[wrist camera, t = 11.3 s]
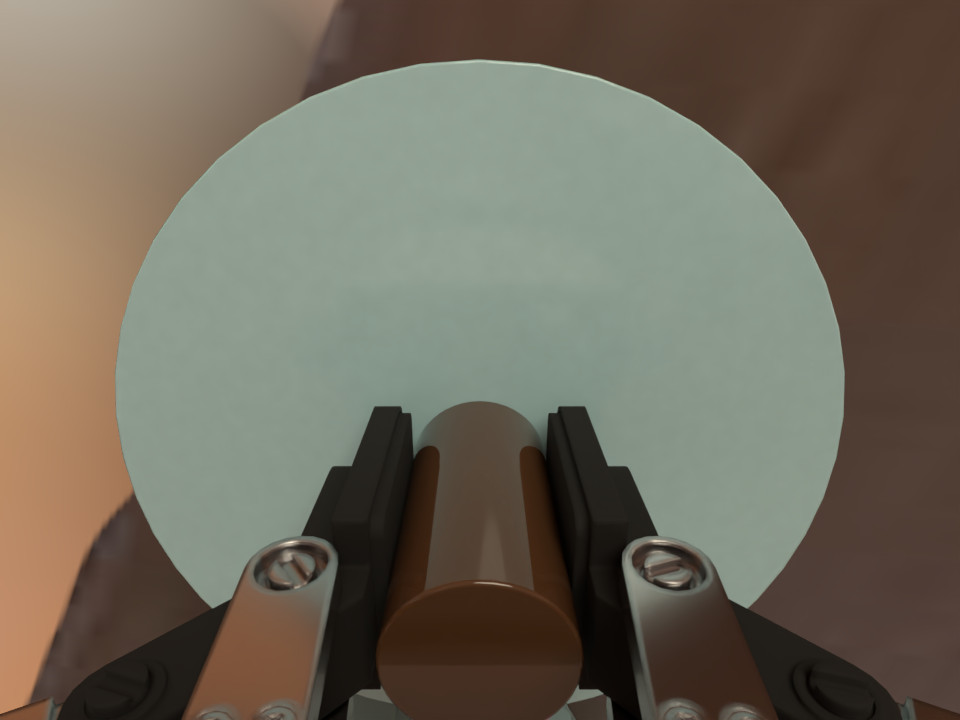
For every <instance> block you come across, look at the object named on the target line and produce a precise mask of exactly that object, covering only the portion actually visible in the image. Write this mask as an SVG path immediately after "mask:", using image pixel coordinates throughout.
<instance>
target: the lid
mask: <svg viewBox="0 0 960 720" xmlns="http://www.w3.org/2000/svg"><path fill="white" fill-rule="evenodd" d="M844 375H845V372H844V364H843V356H842V348H841V341H840V333H839V327H838V323H837V320H836V316H835V313H834V309H833V306H832V302H831V299H830V295H829V292H828V288H827V285H826V282H825V280H824V278H823V275H822V273H821V271H820V269H819V267H818V265H817V263H816V260H815V258H814V256H813V254H812V252H811V250H810V248H809V245H808V243H807V241H806V239H805V237H804V236H803V234H802V233H801V231H800V230H799V229H798V227H797V226H796V224H795V223H794V221H793V220H792V218H791V217H790V215H789V214H788V212H787V211H786V209H785V208H784V206H783V205H782V203H781V202H780V200H779V199H778V197H777V196H776V195H775V194H774V193H773V192H772V191H771V190H770V189H769V188H768V186H767V185H766V184H765V183H764V182H763V181H762V180H761V179H760V178H759V177H758V176H757V175H756V174H755V173H754V171H753V170H752V169H751V168H750V167H749V166H748V165H747V164H746V163H745V162H744V161H743V160H742V159H741V158H740V157H739V156H738V155H736V154H735V153H734V152H733V151H731V150H730V149H729V148H728V147H726V146H725V145H724V144H722V143H721V142H720V141H719V140H717V139H716V138H715V137H714V136H712V135H711V134H710V133H709V132H707V131H706V130H705V129H703V128H702V127H701V126H700V125H698V124H696V123H695V122H693V121H691V120H689V119H688V118H686V117H684V116H682V115H681V114H679V113H677V112H675V111H674V110H672V109H670V108H668V107H666V106H665V105H663V104H661V103H659V102H658V101H656V100H654V99H652V98H651V97H648V96H646V95H643V94H640V93H638V92H635V91H633V90H630V89H627V88H625V87H622V86H620V85H617V84H614V83H612V82H609V81H607V80H604V79H601V78H599V77H596V76H592V75H587V74H583V73H578V72H574V71H569V70H565V69H560V68H556V67H551V66H547V65H542V64H536V63H522V62H509V61H495V60H481V59H478V60H464V61H451V62H437V63H423V64H417V65H412V66H408V67H403V68H399V69H394V70H390V71H385V72H381V73H377V74H372V75H368V76H363V77H361V78H358V79H355V80H353V81H350V82H348V83H345V84H342V85H340V86H337V87H334V88H332V89H329V90H327V91H324V92H321V93H319V94H316V95H314V96H311V97H309V98H307V99H305V100H303V101H302V102H300V103H298V104H296V105H295V106H293V107H291V108H289V109H288V110H286V111H284V112H282V113H281V114H279V115H277V116H275V117H274V118H272V119H270V120H268V121H266V122H265V123H263V124H261V125H260V126H258V127H257V128H256V129H255V130H253V131H252V132H251V133H250V134H248V135H247V136H246V137H245V138H243V139H242V140H241V141H239V142H238V143H237V144H236V145H234V146H233V147H232V148H231V149H229V150H228V151H227V152H226V153H224V154H223V155H222V156H220V157H219V158H218V159H217V160H216V161H215V162H214V163H213V164H212V165H211V167H210V168H209V169H208V170H207V171H206V172H205V173H204V174H203V175H202V176H201V177H200V178H199V179H198V180H197V182H196V183H195V184H194V185H193V186H192V187H191V188H190V189H189V190H188V191H187V192H186V193H185V194H184V196H183V197H182V198H181V200H180V201H179V203H178V204H177V206H176V207H175V208H174V210H173V211H172V213H171V214H170V216H169V217H168V219H167V220H166V222H165V223H164V225H163V226H162V228H161V229H160V231H159V232H158V234H157V235H156V237H155V238H154V240H153V242H152V244H151V247H150V249H149V251H148V253H147V255H146V257H145V259H144V262H143V264H142V266H141V268H140V270H139V272H138V274H137V277H136V279H135V281H134V283H133V287H132V290H131V294H130V297H129V301H128V304H127V308H126V311H125V314H124V318H123V322H122V325H121V329H120V338H119V345H118V353H117V361H116V368H115V393H116V418H117V424H118V430H119V436H120V441H121V447H122V453H123V458H124V461H125V464H126V468H127V471H128V474H129V477H130V480H131V483H132V486H133V489H134V492H135V495H136V498H137V500H138V502H139V504H140V506H141V509H142V511H143V513H144V515H145V517H146V519H147V521H148V523H149V525H150V527H151V529H152V531H153V534H154V535H155V537H156V538H157V540H158V541H159V543H160V544H161V546H162V548H163V549H164V551H165V552H166V554H167V555H168V557H169V558H170V560H171V561H172V563H173V564H174V566H175V568H176V569H177V570H178V571H179V572H180V574H181V575H182V576H183V577H184V578H185V579H186V581H187V582H188V583H189V584H190V585H191V587H192V588H193V589H194V590H195V591H196V593H197V594H198V595H199V596H200V597H201V598H202V599H203V600H204V601H205V602H206V603H207V604H208V605H209V606H210V607H211V608H212V609H213V608H215V607H217V606H218V605H220V604H222V603H224V602H226V601H228V600H230V599H232V596H233V594H234V591H235V589H236V587H237V584H238V582H239V579H240V577H241V575H242V572H243V570H244V567H245V566H246V564H247V563H248V561H249V560H250V558H251V557H252V556H253V555H255V554H256V553H257V552H258V551H259V550H260V549H262V548H264V547H266V546H267V545H269V544H271V543H273V542H276V541H279V540H282V539H285V538H289V537H296V536H301V535H302V532H303V530H304V528H305V525H306V523H307V521H308V519H309V516H310V514H311V512H312V510H313V507H314V505H315V503H316V501H317V498H318V496H319V494H320V491H321V489H322V487H323V485H324V482H325V480H326V478H327V476H328V473H329V471H330V469H331V468H332V467H333V466H352V464H353V461H354V458H355V456H356V453H357V451H358V448H359V445H360V443H361V440H362V437H363V435H364V432H365V430H366V427H367V424H368V422H369V419H370V417H371V414H372V411H373V409H374V407H375V406H401V408H402V413H411V416H412V434H413V455H414V461H413V466H412V471H411V476H410V481H409V486H408V491H407V496H406V501H405V506H404V511H403V516H402V520H401V525H400V530H399V535H398V540H397V545H396V550H395V555H394V560H393V565H392V570H391V575H390V580H389V585H388V590H387V595H386V600H385V605H384V609H383V614H382V619H381V624H380V629H379V634H378V639H377V644H376V650H375V665H376V671H377V675H378V678H379V681H380V684H381V690H360V691H359V692H358V693H356V694H357V695H360V696H363V697H366V698H370V699H374V700H378V701H383V702H387V703H391V704H394V705H395V706H396V707H397V708H398V709H399V710H400V711H401V712H402V713H404V714H405V715H406V716H408V717H409V718H410V719H412V720H547V719H549V718H550V717H551V716H553V715H554V714H555V713H557V712H558V711H559V710H560V709H561V708H562V707H563V706H564V705H565V704H569V703H573V702H577V701H581V700H585V699H590V698H594V697H597V696H599V695H602V694H603V693H602V692H601V691H599V690H579V686H578V683H579V681H580V678H581V675H582V670H583V665H584V651H583V645H582V640H581V635H580V630H579V625H578V620H577V615H576V610H575V605H574V600H573V595H572V590H571V585H570V580H569V575H568V570H567V564H566V559H565V554H564V549H563V544H562V539H561V534H560V529H559V524H558V519H557V514H556V509H555V504H554V499H553V494H552V489H551V484H550V479H549V474H548V469H547V464H546V448H547V426H548V414H549V413H557V411H558V407H559V406H585V407H586V410H587V412H588V415H589V417H590V420H591V423H592V425H593V428H594V431H595V433H596V436H597V438H598V441H599V444H600V446H601V449H602V451H603V454H604V457H605V459H606V462H607V465H608V466H626V467H628V468H629V470H630V472H631V474H632V476H633V479H634V481H635V483H636V485H637V488H638V490H639V492H640V495H641V497H642V499H643V501H644V504H645V506H646V508H647V510H648V513H649V515H650V517H651V519H652V522H653V524H654V526H655V529H656V531H657V533H658V535H659V536H664V537H671V538H675V539H678V540H681V541H684V542H687V543H689V544H691V545H693V546H694V547H696V548H698V549H700V550H701V551H702V552H703V553H704V554H705V555H707V556H708V557H709V558H710V560H711V561H712V563H713V564H714V566H715V567H716V570H717V572H718V575H719V577H720V579H721V582H722V584H723V587H724V589H725V591H726V594H727V596H728V599H730V600H732V601H734V602H736V603H737V604H739V605H741V606H743V607H745V608H747V609H748V608H749V607H750V606H751V605H752V604H753V603H754V602H755V601H756V600H757V599H758V598H759V597H760V596H761V595H762V593H763V592H764V591H765V590H766V589H767V587H768V586H769V585H770V584H771V583H772V582H773V580H774V579H775V578H776V577H777V576H778V574H779V573H780V572H781V571H782V570H783V568H784V567H785V565H786V564H787V562H788V561H789V559H790V558H791V556H792V555H793V553H794V552H795V550H796V549H797V547H798V545H799V544H800V542H801V541H802V539H803V538H804V536H805V535H806V533H807V531H808V529H809V527H810V524H811V522H812V520H813V518H814V516H815V514H816V512H817V510H818V508H819V506H820V504H821V502H822V499H823V497H824V494H825V491H826V488H827V485H828V482H829V479H830V476H831V473H832V470H833V466H834V463H835V460H836V457H837V451H838V445H839V439H840V433H841V428H842V422H843V416H844Z"/></svg>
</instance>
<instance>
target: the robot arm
mask: <svg viewBox="0 0 960 720" xmlns="http://www.w3.org/2000/svg"><path fill="white" fill-rule="evenodd" d="M413 461H414V455H413V434H412V416H411V413H402V408H401V406H375V407H374V409H373V411H372V414H371V417H370V419H369V422H368V424H367V427H366V430H365V432H364V435H363V437H362V440H361V443H360V445H359V448H358V451H357V453H356V456H355V458H354V461H353V464H352V466H333V467H332V468H331V469H330V471H329V473H328V476H327V478H326V480H325V482H324V485H323V487H322V489H321V491H320V494H319V496H318V498H317V501H316V503H315V505H314V507H313V510H312V512H311V514H310V516H309V519H308V521H307V523H306V525H305V528H304V530H303V532H302V535H301V536H296V537H289V538H285V539H282V540H279V541H276V542H273V543H271V544H269V545H267V546H266V547H264V548H262V549H260V550H259V551H258V552H257V553H256V554H255V555H253V556H252V557H251V558H250V560H249V561H248V563H247V564H246V566H245V567H244V570H243V572H242V575H241V577H240V579H239V582H238V584H237V587H236V589H235V591H234V594H233V596H232V599H230V600H228V601H226V602H224V603H222V604H220V605H218V606H217V607H215V608H213V609H211V610H209V611H207V612H205V613H203V614H201V615H200V616H198V617H196V618H194V619H192V620H190V621H188V622H186V623H184V624H183V625H181V626H179V627H177V628H175V629H173V630H171V631H169V632H167V633H166V634H164V635H162V636H160V637H158V638H156V639H154V640H152V641H150V642H149V643H147V644H145V645H143V646H141V647H139V648H137V649H135V650H133V651H132V652H130V653H128V654H126V655H124V656H122V657H120V658H118V659H116V660H115V661H113V662H111V663H109V664H107V665H105V666H104V667H102V668H101V669H99V670H97V671H96V672H94V673H93V674H91V675H90V676H88V677H87V678H86V679H85V680H84V681H83V682H81V683H80V684H79V685H78V686H77V687H76V688H75V689H74V690H73V691H72V692H71V694H70V695H69V696H68V698H67V699H66V701H65V702H63V703H60V704H57V705H55V702H54V699H53V697H49V698H46V699H43V700H40V701H37V702H34V703H31V704H29V705H26V706H23V707H20V708H17V709H14V710H11V711H8V712H5V713H2V714H0V720H352V719H353V711H354V706H353V696H354V695H355V694H356V693H358V692H359V691H360V690H381V684H380V681H379V678H378V675H377V671H376V665H375V650H376V644H377V639H378V634H379V629H380V624H381V619H382V614H383V609H384V605H385V600H386V595H387V590H388V585H389V580H390V575H391V570H392V565H393V560H394V555H395V550H396V545H397V540H398V535H399V530H400V525H401V520H402V516H403V511H404V506H405V501H406V496H407V491H408V486H409V481H410V476H411V471H412V466H413ZM546 464H547V469H548V474H549V479H550V484H551V489H552V494H553V499H554V504H555V509H556V514H557V519H558V524H559V529H560V534H561V539H562V544H563V549H564V554H565V559H566V564H567V570H568V575H569V580H570V585H571V590H572V595H573V600H574V605H575V610H576V615H577V620H578V625H579V630H580V635H581V640H582V645H583V651H584V665H583V670H582V675H581V678H580V681H579V683H578V686H579V690H599V691H601V692H602V693H603V694H605V695H606V696H607V706H606V711H607V719H608V720H960V714H958V713H955V712H952V711H949V710H946V709H943V708H940V707H937V706H934V705H931V704H928V703H925V702H923V701H920V700H917V699H914V698H911V697H908V696H907V698H906V701H905V704H904V705H902V704H900V703H897V702H895V701H894V700H893V698H892V697H891V695H890V694H889V693H888V691H887V690H886V689H885V688H884V687H883V686H882V685H880V684H879V683H878V682H877V681H876V680H875V679H874V678H873V677H872V676H870V675H869V674H867V673H865V672H864V671H862V670H861V669H859V668H858V667H856V666H855V665H853V664H851V663H849V662H847V661H845V660H843V659H841V658H839V657H838V656H836V655H834V654H832V653H830V652H828V651H826V650H824V649H822V648H821V647H819V646H817V645H815V644H813V643H811V642H809V641H807V640H805V639H804V638H802V637H800V636H798V635H796V634H794V633H792V632H790V631H788V630H787V629H785V628H783V627H781V626H779V625H777V624H775V623H773V622H771V621H770V620H768V619H766V618H764V617H762V616H760V615H758V614H756V613H754V612H753V611H751V610H749V609H747V608H745V607H743V606H741V605H739V604H737V603H736V602H734V601H732V600H730V599H728V596H727V594H726V591H725V589H724V587H723V584H722V582H721V579H720V577H719V575H718V572H717V570H716V567H715V566H714V564H713V563H712V561H711V560H710V558H709V557H708V556H707V555H705V554H704V553H703V552H702V551H701V550H700V549H698V548H696V547H694V546H693V545H691V544H689V543H687V542H684V541H681V540H678V539H675V538H671V537H664V536H659V535H658V533H657V531H656V529H655V526H654V524H653V522H652V519H651V517H650V515H649V513H648V510H647V508H646V506H645V504H644V501H643V499H642V497H641V495H640V492H639V490H638V488H637V485H636V483H635V481H634V479H633V476H632V474H631V472H630V470H629V468H628V467H626V466H608V465H607V462H606V459H605V457H604V454H603V451H602V449H601V446H600V444H599V441H598V438H597V436H596V433H595V431H594V428H593V425H592V423H591V420H590V417H589V415H588V412H587V410H586V407H585V406H559V407H558V411H557V413H549V414H548V426H547V448H546Z"/></svg>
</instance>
